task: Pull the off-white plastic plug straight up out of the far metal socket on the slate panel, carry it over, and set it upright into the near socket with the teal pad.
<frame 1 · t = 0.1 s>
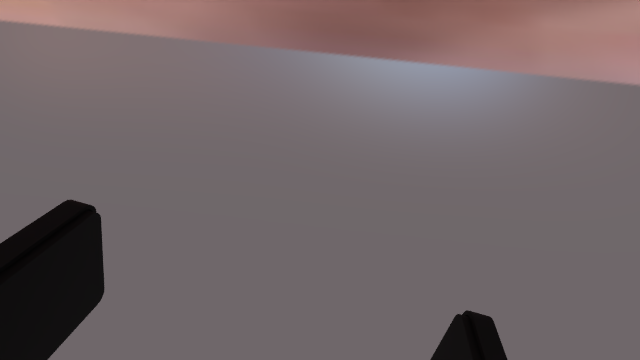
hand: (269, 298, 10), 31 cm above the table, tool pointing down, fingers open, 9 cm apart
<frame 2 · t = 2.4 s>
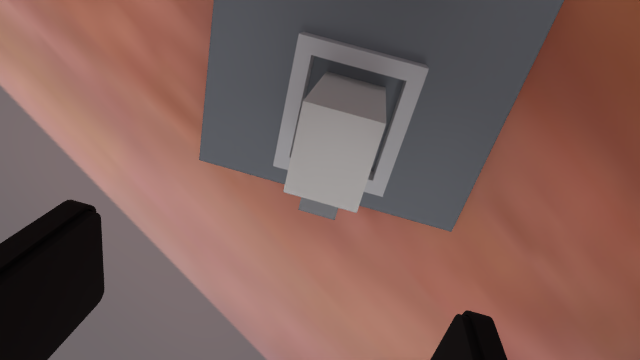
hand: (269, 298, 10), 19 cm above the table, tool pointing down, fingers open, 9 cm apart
plug: (346, 115, 26), point 1 cm above the table, touching dock board
dock board: (374, 13, 23), on the table
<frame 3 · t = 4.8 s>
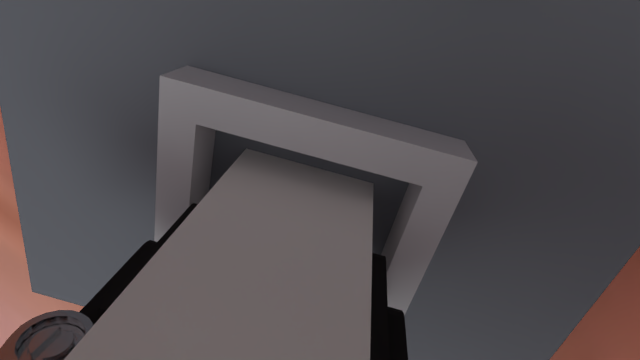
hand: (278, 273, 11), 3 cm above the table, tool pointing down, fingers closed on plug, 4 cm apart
plug: (293, 231, 12), point 1 cm above the table, touching dock board, gripper
dock board: (346, 24, 10), on the table
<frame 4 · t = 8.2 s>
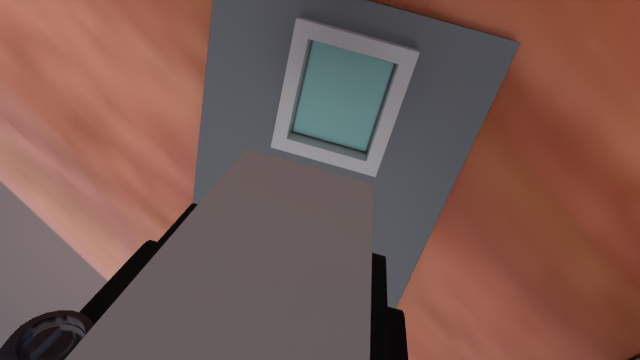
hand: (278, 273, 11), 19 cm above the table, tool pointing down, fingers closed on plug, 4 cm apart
plug: (293, 231, 12), point 17 cm above the table, touching gripper
dock board: (321, 171, 31), on the table
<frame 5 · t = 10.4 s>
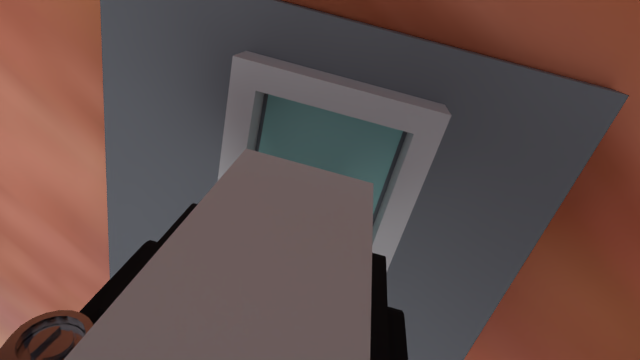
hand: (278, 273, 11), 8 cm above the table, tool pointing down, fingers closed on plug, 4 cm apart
plug: (293, 231, 12), point 6 cm above the table, touching gripper
dock board: (294, 272, 20), on the table
when the fingers open (4 cm above the table, at t = 11.9 s): plug stays where it is, resting on dock board.
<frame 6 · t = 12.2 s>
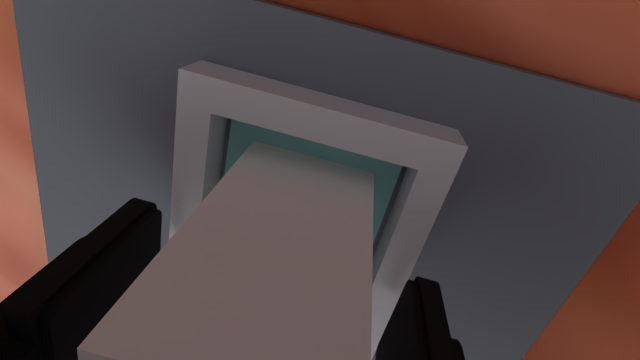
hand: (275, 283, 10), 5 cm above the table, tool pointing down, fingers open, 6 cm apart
plug: (298, 219, 13), point 1 cm above the table, touching dock board
dock board: (274, 319, 17), on the table
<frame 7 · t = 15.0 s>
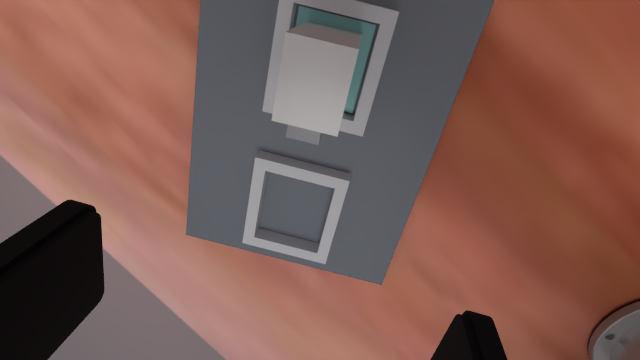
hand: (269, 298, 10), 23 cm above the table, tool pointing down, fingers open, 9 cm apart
plug: (327, 62, 28), point 1 cm above the table, touching dock board
dock board: (311, 136, 32), on the table
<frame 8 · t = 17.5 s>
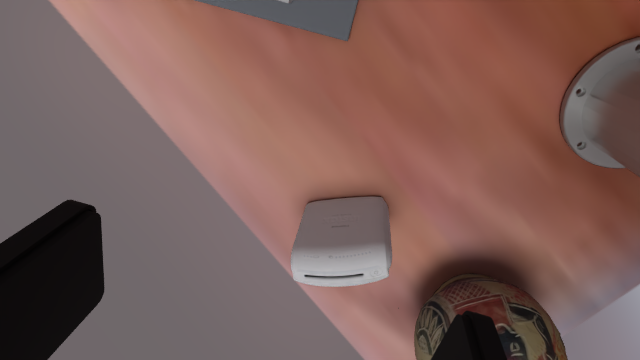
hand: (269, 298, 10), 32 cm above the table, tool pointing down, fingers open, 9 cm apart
ceramic jug: (462, 296, 49), on the table
photo printer: (346, 209, 46), on the table
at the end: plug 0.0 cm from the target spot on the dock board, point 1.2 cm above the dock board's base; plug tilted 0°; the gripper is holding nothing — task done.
